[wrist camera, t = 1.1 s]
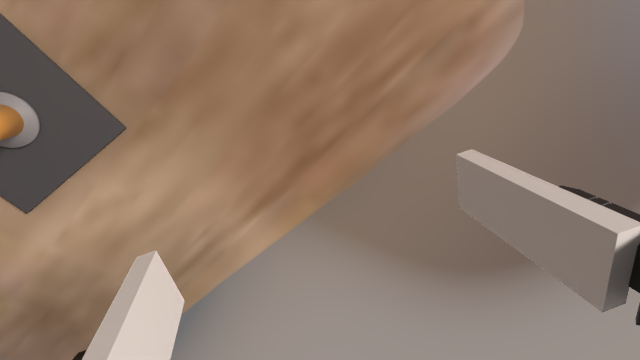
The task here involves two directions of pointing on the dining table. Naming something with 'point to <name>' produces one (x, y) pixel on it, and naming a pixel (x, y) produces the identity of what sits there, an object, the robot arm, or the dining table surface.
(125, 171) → the dining table surface
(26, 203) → the mat
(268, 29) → the dining table surface
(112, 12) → the dining table surface
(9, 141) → the post
